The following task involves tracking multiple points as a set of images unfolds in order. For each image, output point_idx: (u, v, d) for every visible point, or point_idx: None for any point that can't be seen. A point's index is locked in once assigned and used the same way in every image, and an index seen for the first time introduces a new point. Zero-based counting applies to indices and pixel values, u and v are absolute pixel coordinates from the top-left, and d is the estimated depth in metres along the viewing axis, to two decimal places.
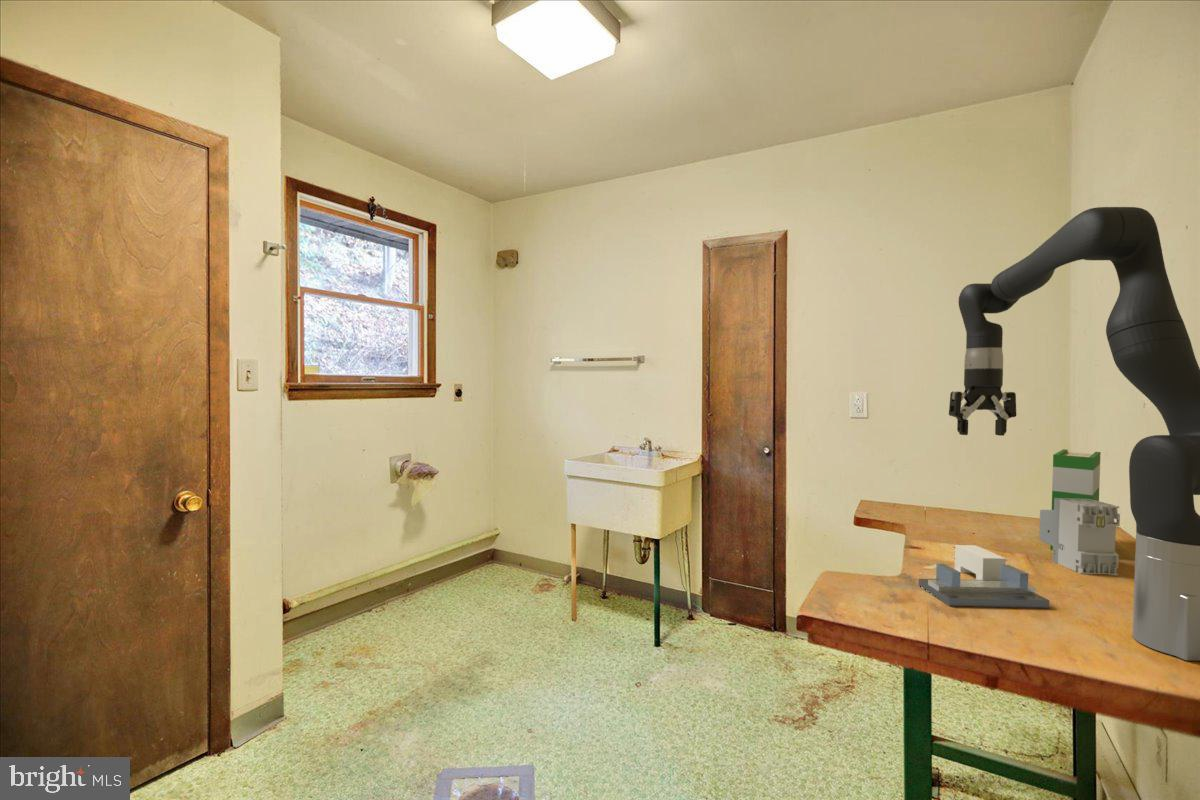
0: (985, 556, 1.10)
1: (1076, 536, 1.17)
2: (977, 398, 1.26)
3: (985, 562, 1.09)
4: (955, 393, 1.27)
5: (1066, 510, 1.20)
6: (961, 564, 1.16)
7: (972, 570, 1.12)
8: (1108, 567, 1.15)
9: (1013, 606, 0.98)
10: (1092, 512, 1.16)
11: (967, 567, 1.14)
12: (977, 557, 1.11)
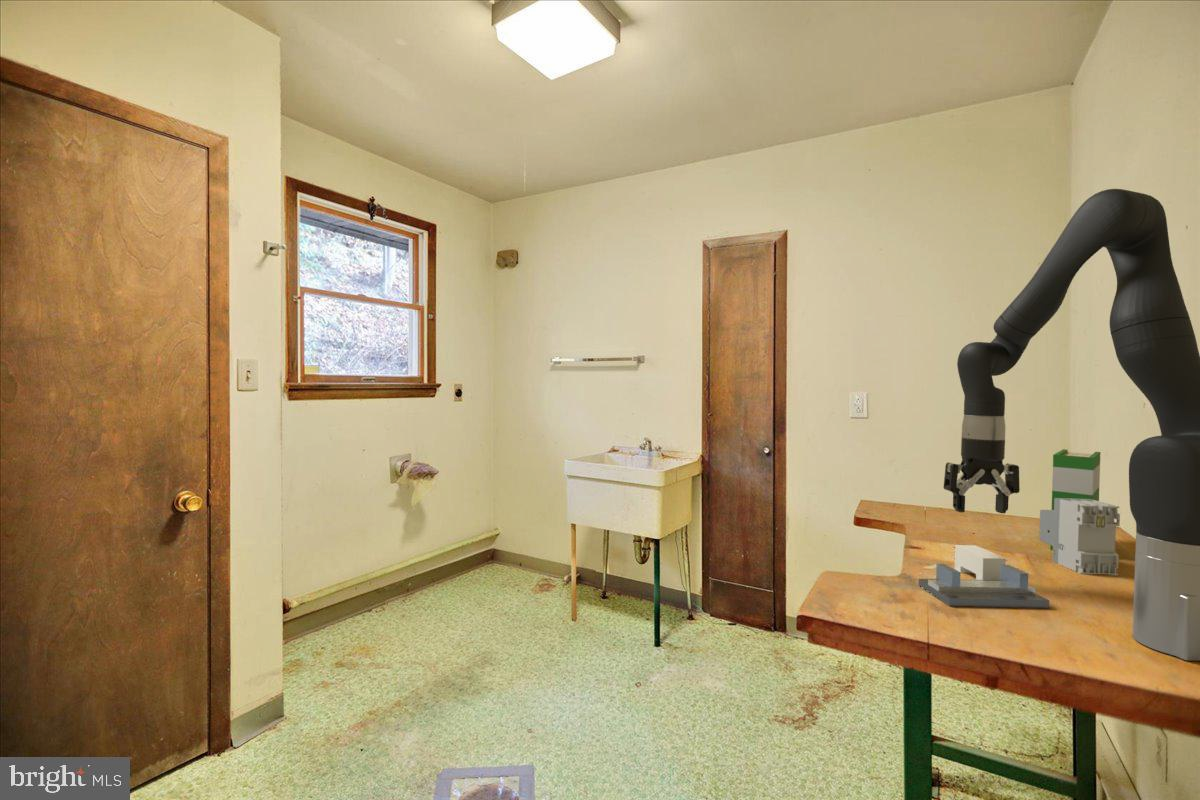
0: (985, 556, 1.10)
1: (1076, 536, 1.17)
2: (975, 472, 1.12)
3: (985, 562, 1.09)
4: (951, 465, 1.12)
5: (1066, 510, 1.20)
6: (961, 564, 1.16)
7: (972, 570, 1.12)
8: (1108, 567, 1.15)
9: (1013, 606, 0.98)
10: (1092, 512, 1.16)
11: (967, 567, 1.14)
12: (977, 557, 1.11)
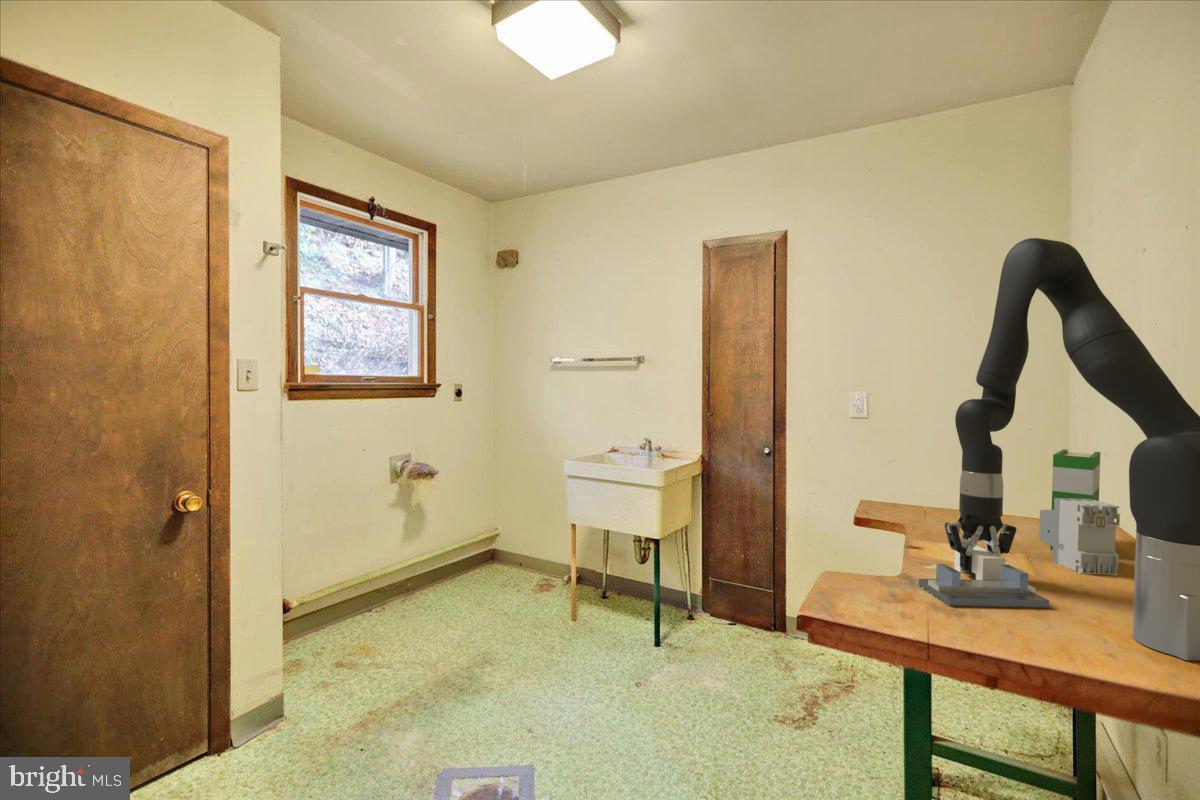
0: (985, 556, 1.10)
1: (1076, 536, 1.17)
2: (974, 529, 1.12)
3: (985, 561, 1.09)
4: (949, 527, 1.13)
5: (1066, 510, 1.20)
6: None
7: (972, 570, 1.12)
8: (1108, 567, 1.15)
9: (1013, 606, 0.98)
10: (1092, 512, 1.16)
11: None
12: (977, 557, 1.11)
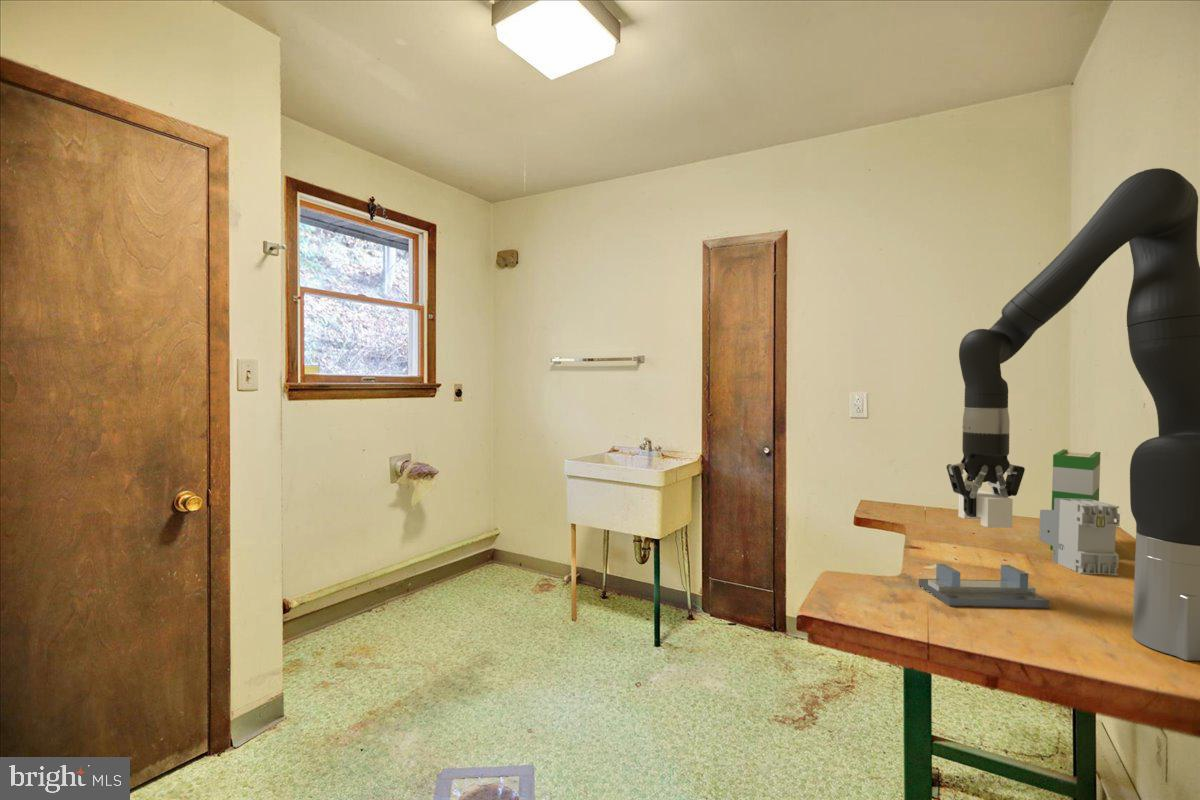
0: (990, 497, 1.02)
1: (1076, 536, 1.17)
2: (979, 470, 1.04)
3: (990, 502, 1.01)
4: (952, 468, 1.05)
5: (1066, 510, 1.20)
6: None
7: (976, 514, 1.04)
8: (1108, 567, 1.15)
9: (1013, 606, 0.98)
10: (1092, 512, 1.16)
11: None
12: (982, 499, 1.03)
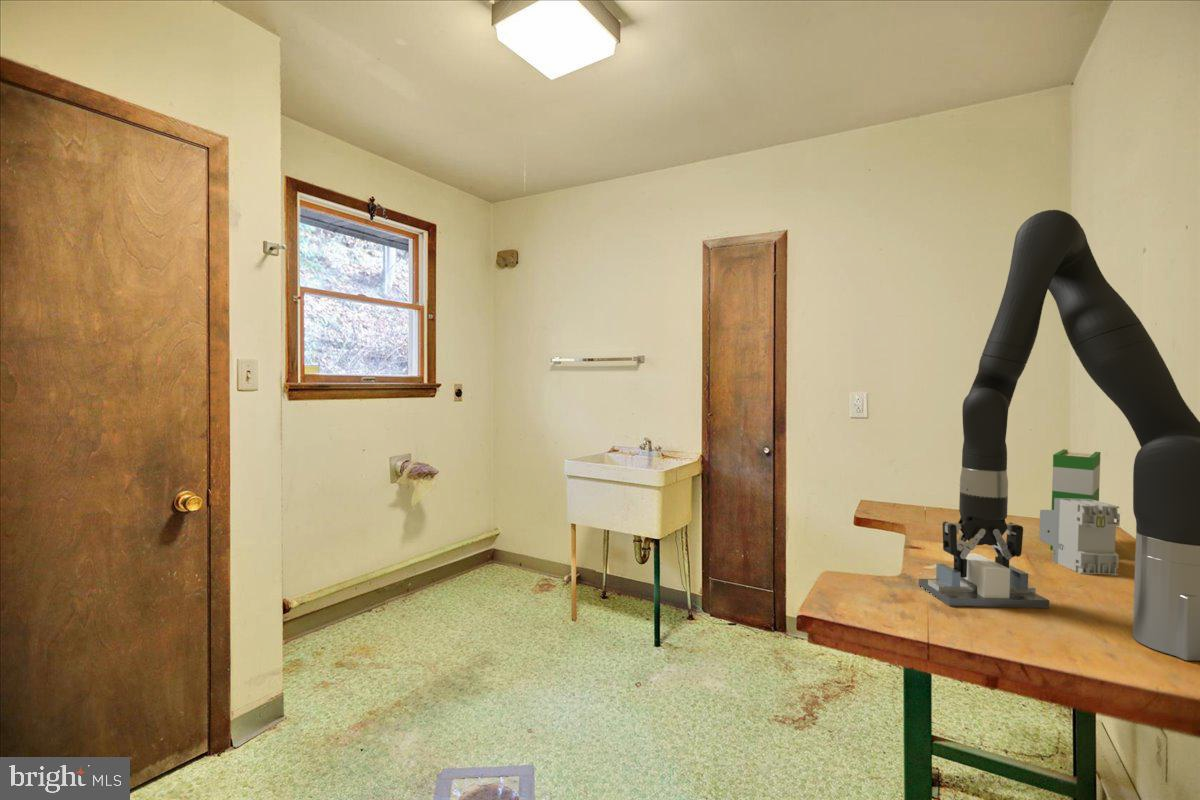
0: (987, 566, 0.99)
1: (1076, 536, 1.17)
2: (975, 532, 1.01)
3: (988, 572, 0.98)
4: (948, 526, 1.02)
5: (1066, 510, 1.20)
6: None
7: (973, 581, 1.01)
8: (1108, 567, 1.15)
9: (1013, 606, 0.98)
10: (1092, 512, 1.16)
11: (967, 578, 1.03)
12: (979, 568, 1.00)
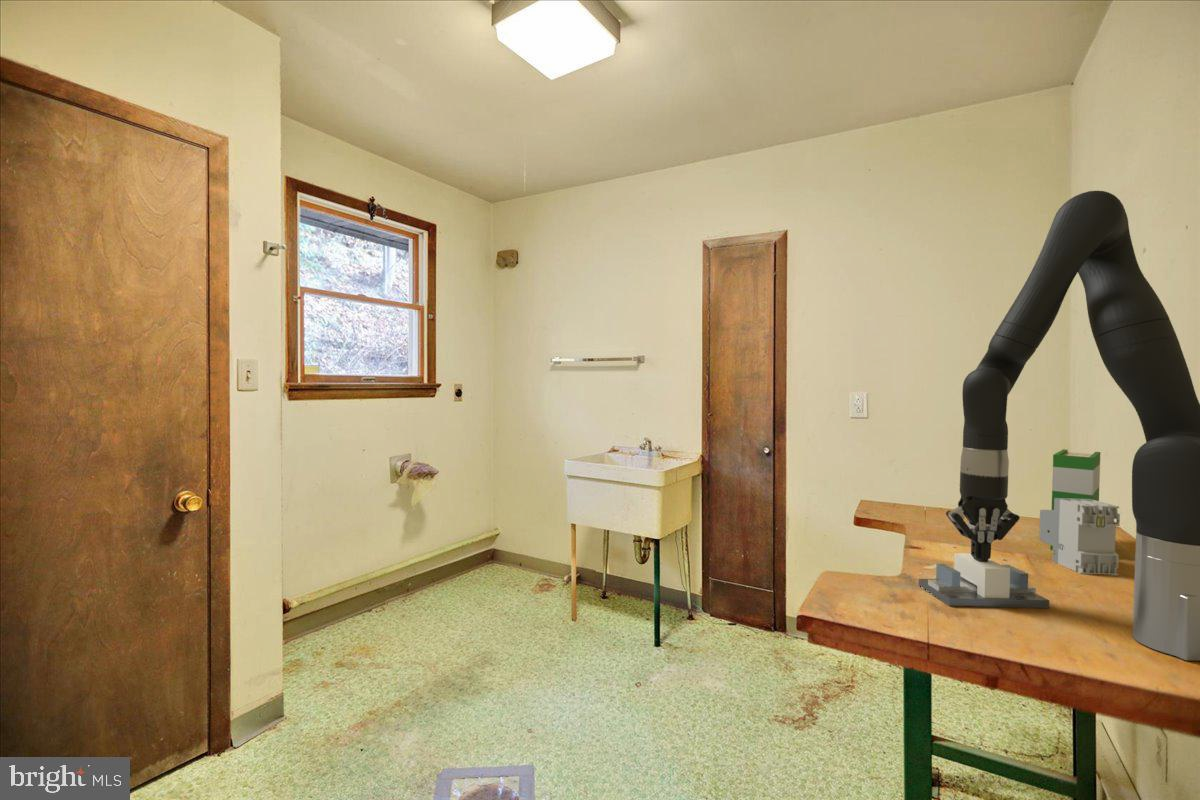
0: (987, 566, 0.99)
1: (1076, 536, 1.17)
2: (977, 514, 1.01)
3: (988, 572, 0.98)
4: (952, 517, 1.02)
5: (1066, 510, 1.20)
6: (961, 574, 1.05)
7: (973, 581, 1.01)
8: (1108, 567, 1.15)
9: (1013, 606, 0.98)
10: (1092, 512, 1.16)
11: (967, 578, 1.03)
12: (979, 568, 1.00)
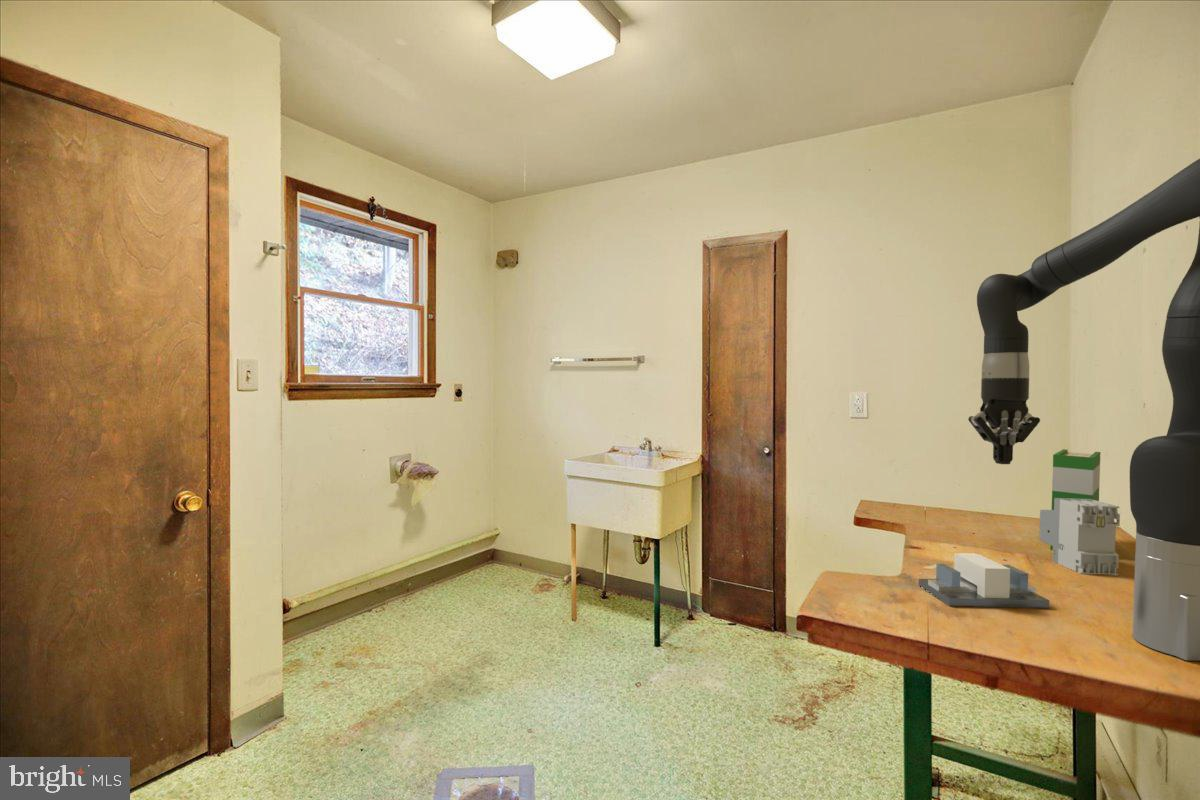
0: (987, 566, 0.99)
1: (1076, 536, 1.17)
2: (999, 416, 1.04)
3: (988, 572, 0.98)
4: (975, 420, 1.05)
5: (1066, 510, 1.20)
6: (961, 574, 1.05)
7: (973, 581, 1.01)
8: (1108, 567, 1.15)
9: (1013, 606, 0.98)
10: (1092, 512, 1.16)
11: (967, 578, 1.03)
12: (979, 568, 1.00)
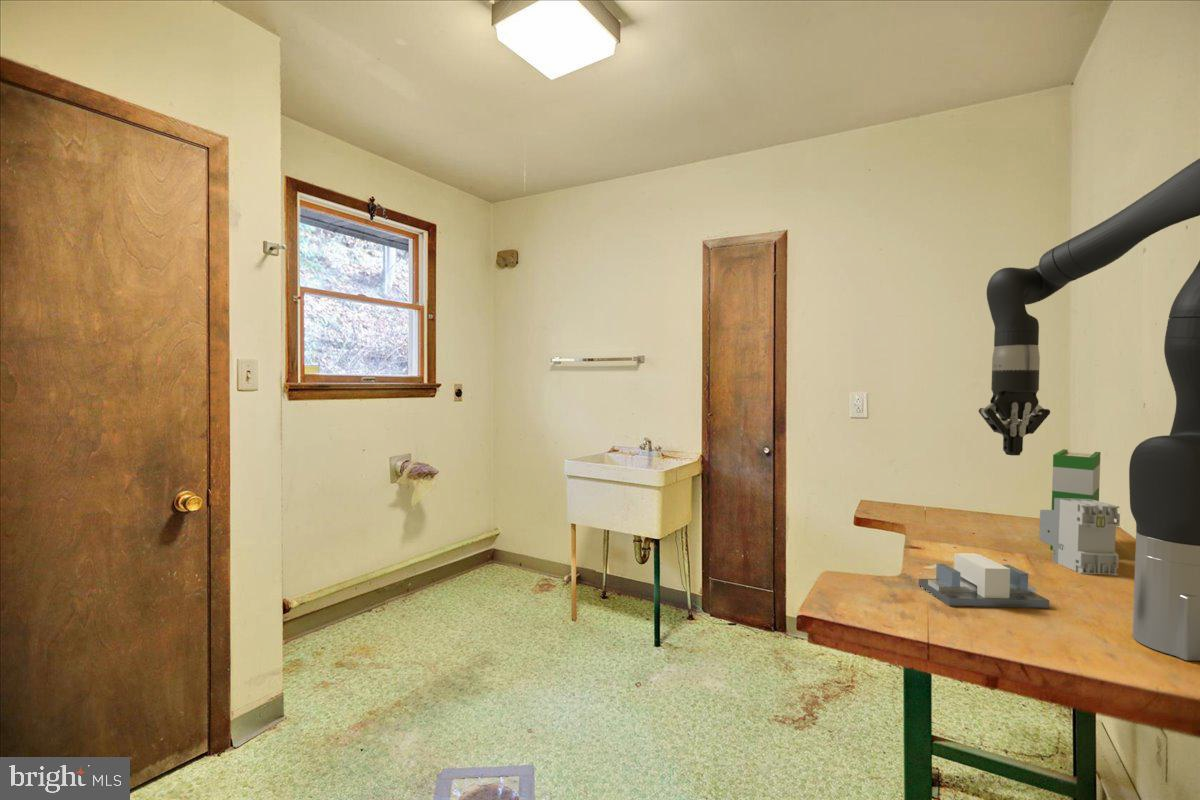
0: (987, 566, 0.99)
1: (1076, 536, 1.17)
2: (1010, 408, 1.05)
3: (988, 572, 0.98)
4: (985, 412, 1.06)
5: (1066, 510, 1.20)
6: (961, 574, 1.05)
7: (973, 581, 1.01)
8: (1108, 567, 1.15)
9: (1013, 606, 0.98)
10: (1092, 512, 1.16)
11: (967, 578, 1.03)
12: (979, 568, 1.00)
